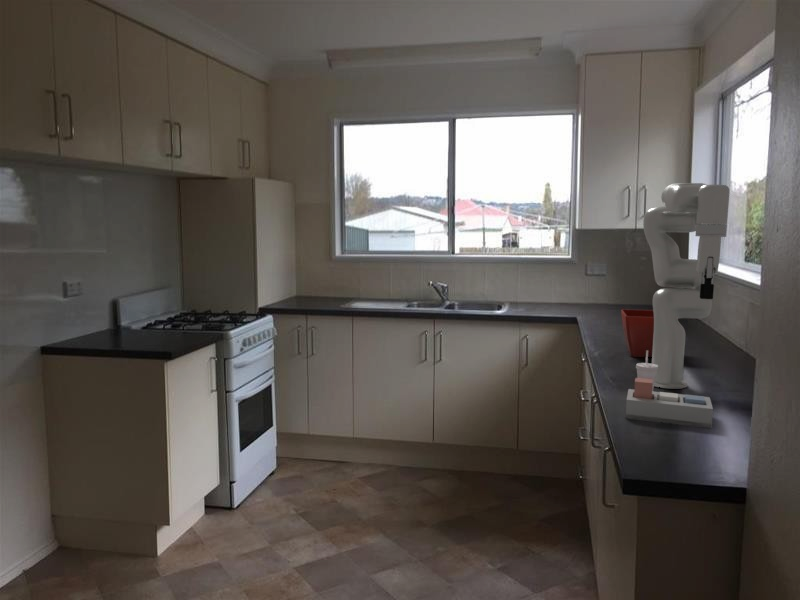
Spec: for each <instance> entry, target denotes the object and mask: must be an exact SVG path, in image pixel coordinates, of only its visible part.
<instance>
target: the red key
mask: <svg viewBox="0 0 800 600" xmlns="http://www.w3.org/2000/svg"><path fill="white" fill-rule="evenodd" d="M652 385H653V379H643V378H638V377H635V379H634V398H643V399H652Z"/></svg>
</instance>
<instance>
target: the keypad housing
mask: <svg viewBox="0 0 800 600" xmlns="http://www.w3.org/2000/svg"><path fill="white" fill-rule="evenodd" d="M660 392H661V391H654V390H653V391H652V399H643V398H634V389H633V388H632V389H631V388H628V390H627V396H626V401H625V402H626V404H625V419H628V420H636V421H646V422H654V423H661V422H663V423H664V424H669V423H672V424H671V425H677V424H678V425H677V426H686V427H687V426H688V427H696V428H704V429H712V425H713V416H714V415H713V414H714V413H713V412H714V408H713V404H712V400H711V398H710V396H704V399H705V405H699V404H690V403H685V395H686V394H682V393H677V394H678V402H671V401H662V400H659V397H660ZM663 423H662V424H663Z"/></svg>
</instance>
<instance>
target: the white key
mask: <svg viewBox="0 0 800 600" xmlns="http://www.w3.org/2000/svg"><path fill="white" fill-rule="evenodd" d="M659 392H660V397H659V400H662V401H671V402H678V394H679V393H677V392H676V393H674V392H664V391H659Z"/></svg>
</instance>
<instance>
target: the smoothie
mask: <svg viewBox="0 0 800 600" xmlns="http://www.w3.org/2000/svg"><path fill="white" fill-rule="evenodd" d="M635 369H636V374H637V378H643V379H653V385H652V391H654V388H655V386H654V383H655V378H656V373H657V370H658V365H655V364H652V362H651V363H649V358H648V351H646V357H645V362H638V363H636V365H635Z"/></svg>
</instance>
